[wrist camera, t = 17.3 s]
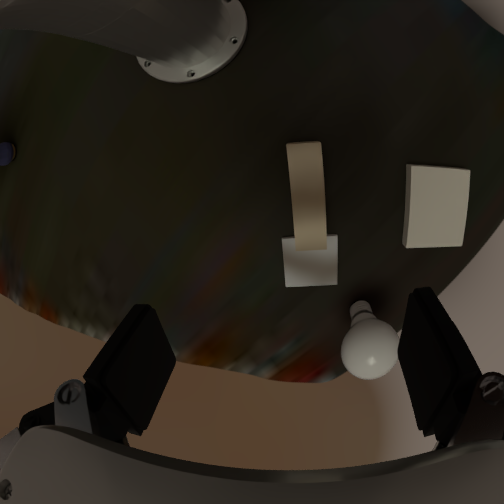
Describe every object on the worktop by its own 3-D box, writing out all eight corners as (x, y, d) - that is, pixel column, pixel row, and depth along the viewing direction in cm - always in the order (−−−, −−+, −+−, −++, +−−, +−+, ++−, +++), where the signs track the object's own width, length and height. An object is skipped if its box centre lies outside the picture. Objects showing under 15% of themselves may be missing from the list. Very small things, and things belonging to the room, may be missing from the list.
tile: (411, 165, 23) (406, 248, 27) (470, 170, 22) (461, 245, 26) (404, 163, 25) (400, 241, 29) (462, 167, 24) (455, 240, 27)
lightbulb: (330, 325, 34) (337, 392, 24) (338, 283, 31) (352, 348, 22) (376, 326, 33) (394, 389, 23) (387, 285, 31) (416, 346, 21)
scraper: (272, 144, 26) (268, 146, 23) (331, 140, 25) (337, 141, 22) (286, 284, 33) (284, 303, 29) (336, 281, 32) (340, 300, 28)
